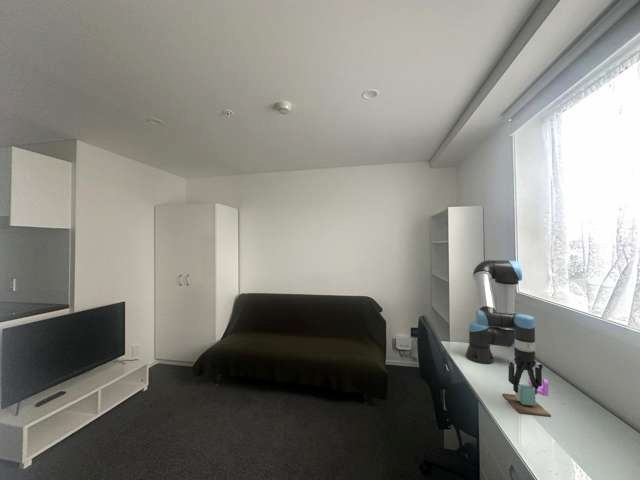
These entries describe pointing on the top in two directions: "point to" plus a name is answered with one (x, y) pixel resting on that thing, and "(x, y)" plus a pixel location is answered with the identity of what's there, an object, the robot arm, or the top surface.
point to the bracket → (542, 387)
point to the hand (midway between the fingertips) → (525, 399)
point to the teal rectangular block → (527, 395)
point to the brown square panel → (526, 407)
